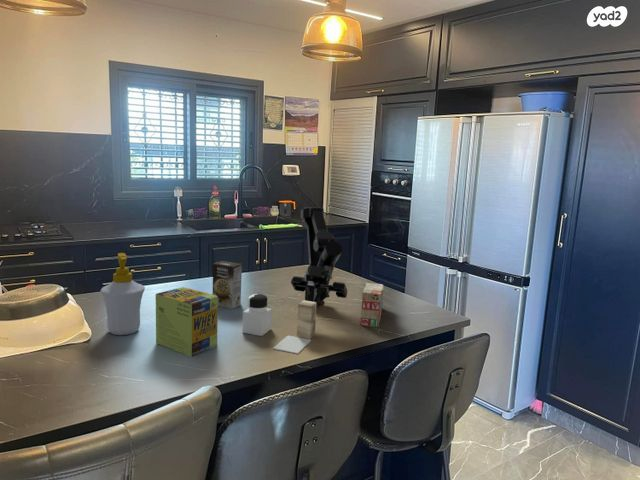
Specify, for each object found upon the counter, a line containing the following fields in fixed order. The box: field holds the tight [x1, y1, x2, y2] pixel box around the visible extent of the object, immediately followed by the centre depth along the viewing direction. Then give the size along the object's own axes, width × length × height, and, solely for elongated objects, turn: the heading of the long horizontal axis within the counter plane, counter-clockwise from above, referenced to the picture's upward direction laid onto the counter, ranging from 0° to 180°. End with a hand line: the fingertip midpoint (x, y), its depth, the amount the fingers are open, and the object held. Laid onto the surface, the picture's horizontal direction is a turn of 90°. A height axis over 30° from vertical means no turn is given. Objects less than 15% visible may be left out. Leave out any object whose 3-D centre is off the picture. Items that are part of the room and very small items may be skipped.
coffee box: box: [212, 260, 243, 310], centre depth 176 cm, size 9×6×16 cm
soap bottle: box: [100, 252, 146, 336], centre depth 146 cm, size 13×13×25 cm
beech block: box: [296, 299, 317, 340], centre depth 151 cm, size 4×4×11 cm
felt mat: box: [272, 335, 312, 355], centre depth 144 cm, size 11×8×1 cm
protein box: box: [155, 286, 219, 357], centre depth 139 cm, size 10×15×16 cm
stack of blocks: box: [360, 282, 385, 328], centre depth 172 cm, size 21×6×12 cm, turn 169°
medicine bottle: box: [242, 293, 273, 337], centre depth 153 cm, size 7×7×12 cm
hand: (312, 309), depth 154 cm, fingers closed
